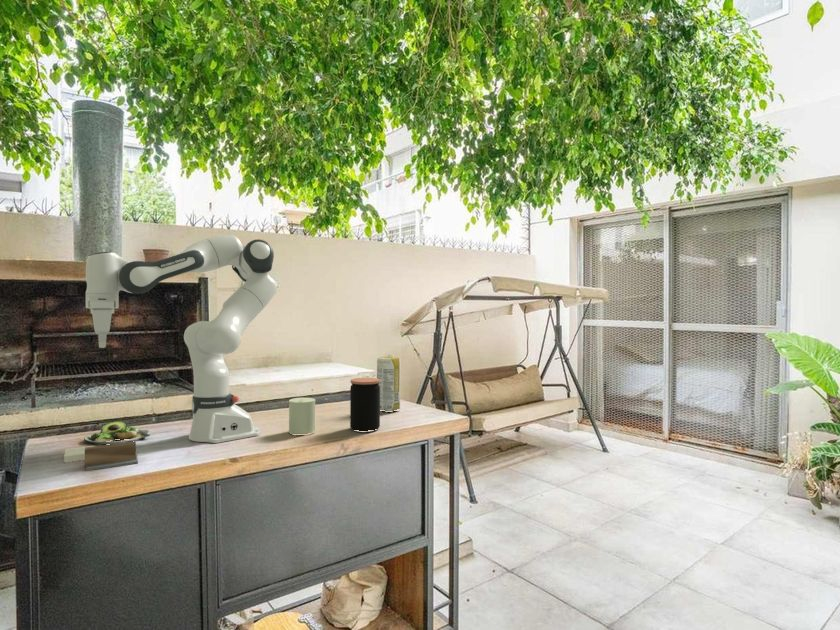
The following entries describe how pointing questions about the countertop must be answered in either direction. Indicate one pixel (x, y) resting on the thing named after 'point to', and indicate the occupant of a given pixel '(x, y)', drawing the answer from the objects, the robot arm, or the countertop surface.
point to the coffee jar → (365, 404)
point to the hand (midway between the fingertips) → (102, 346)
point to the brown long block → (110, 453)
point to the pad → (112, 464)
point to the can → (301, 415)
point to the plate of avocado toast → (116, 434)
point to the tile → (75, 454)
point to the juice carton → (389, 382)
